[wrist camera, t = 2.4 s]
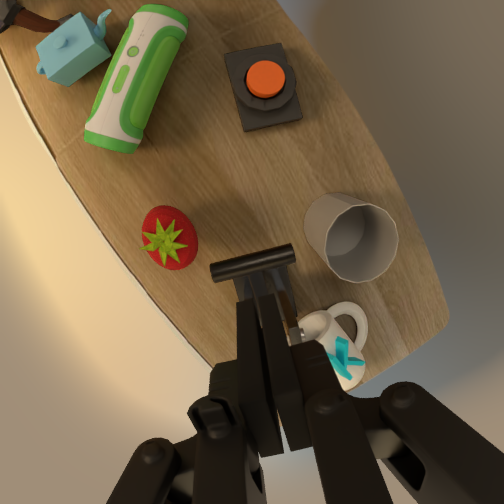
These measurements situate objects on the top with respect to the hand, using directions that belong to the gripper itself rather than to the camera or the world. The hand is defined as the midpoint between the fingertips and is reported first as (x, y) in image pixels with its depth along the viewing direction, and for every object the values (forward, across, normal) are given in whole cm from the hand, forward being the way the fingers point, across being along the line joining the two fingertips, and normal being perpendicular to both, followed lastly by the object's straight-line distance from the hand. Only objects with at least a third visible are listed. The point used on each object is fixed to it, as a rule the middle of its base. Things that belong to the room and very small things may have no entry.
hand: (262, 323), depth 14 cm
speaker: (+27, -8, +20) cm, 34 cm away
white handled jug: (+26, +8, -20) cm, 34 cm away
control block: (+26, +6, +15) cm, 31 cm away
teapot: (+26, -14, +28) cm, 41 cm away
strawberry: (+27, -8, +1) cm, 28 cm away
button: (+23, +6, +15) cm, 28 cm away
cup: (+27, +11, -4) cm, 29 cm away
